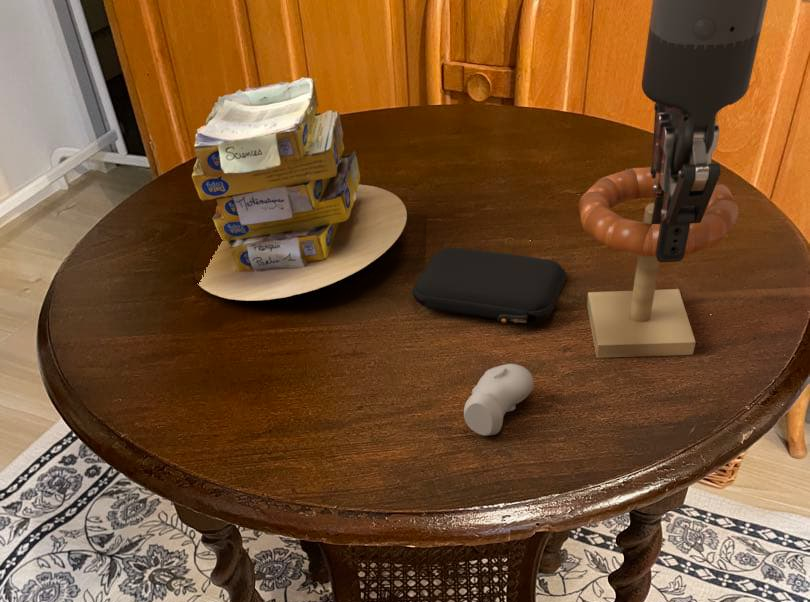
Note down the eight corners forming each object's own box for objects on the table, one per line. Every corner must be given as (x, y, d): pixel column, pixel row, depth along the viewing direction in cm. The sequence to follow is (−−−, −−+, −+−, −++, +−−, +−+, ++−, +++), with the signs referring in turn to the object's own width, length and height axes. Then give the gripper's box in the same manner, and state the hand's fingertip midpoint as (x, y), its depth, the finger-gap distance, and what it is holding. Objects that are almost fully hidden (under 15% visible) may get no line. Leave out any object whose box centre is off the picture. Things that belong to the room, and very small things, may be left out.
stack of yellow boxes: (154, 301, 94) (104, 146, 81) (245, 193, 109) (215, 49, 97) (369, 326, 88) (351, 164, 75) (433, 208, 103) (426, 58, 91)
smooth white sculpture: (499, 392, 81) (545, 396, 78) (451, 438, 77) (498, 444, 74) (488, 351, 79) (536, 353, 75) (438, 396, 75) (486, 401, 71)
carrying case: (403, 318, 88) (544, 340, 84) (401, 292, 86) (546, 313, 82) (437, 264, 95) (569, 282, 91) (436, 238, 93) (571, 256, 88)
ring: (715, 186, 80) (721, 158, 78) (748, 258, 71) (755, 228, 69) (572, 194, 81) (574, 166, 79) (586, 266, 72) (589, 237, 70)
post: (676, 301, 87) (699, 181, 78) (693, 355, 81) (720, 231, 72) (586, 304, 88) (599, 185, 79) (596, 358, 82) (611, 236, 73)
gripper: (787, 54, 55) (728, 294, 67) (739, -15, 64) (695, 207, 77) (667, 61, 55) (631, 297, 68) (636, -9, 64) (610, 211, 77)
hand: (665, 248), depth 72 cm, fingers closed on ring, 2 cm apart
